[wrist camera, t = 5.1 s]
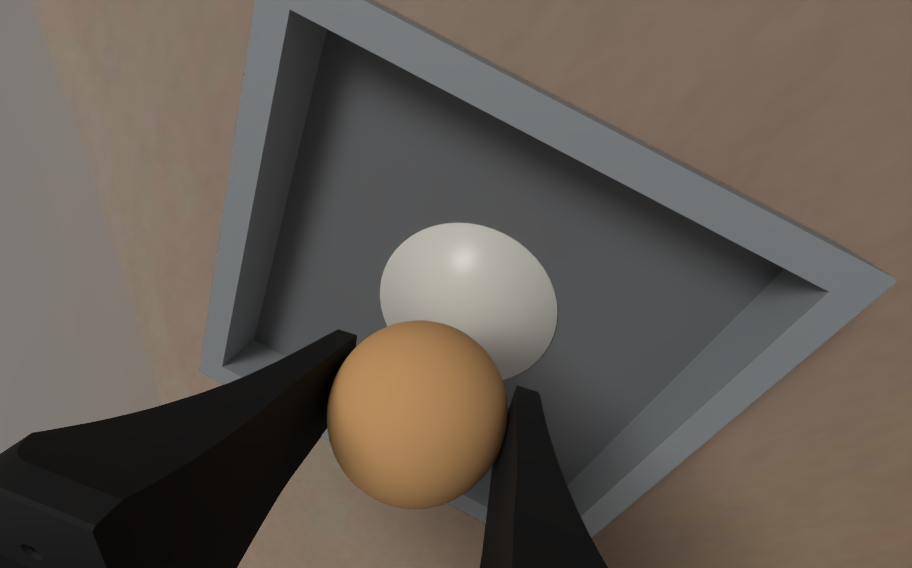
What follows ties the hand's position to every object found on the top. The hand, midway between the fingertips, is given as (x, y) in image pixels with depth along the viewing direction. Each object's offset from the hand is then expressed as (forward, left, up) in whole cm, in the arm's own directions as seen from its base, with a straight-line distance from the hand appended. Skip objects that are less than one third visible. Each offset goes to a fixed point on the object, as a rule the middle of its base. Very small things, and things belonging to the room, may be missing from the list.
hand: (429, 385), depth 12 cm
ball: (0, 0, +1) cm, 1 cm away
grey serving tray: (0, 0, -5) cm, 5 cm away
